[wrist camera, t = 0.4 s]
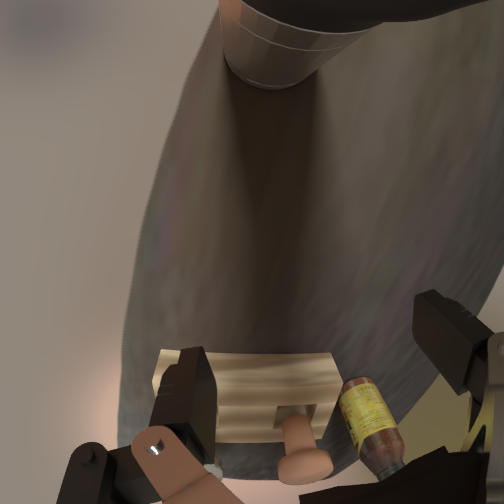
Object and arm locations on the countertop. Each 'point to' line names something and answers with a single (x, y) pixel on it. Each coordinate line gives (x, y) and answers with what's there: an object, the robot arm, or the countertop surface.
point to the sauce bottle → (371, 427)
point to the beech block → (266, 392)
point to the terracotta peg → (302, 454)
